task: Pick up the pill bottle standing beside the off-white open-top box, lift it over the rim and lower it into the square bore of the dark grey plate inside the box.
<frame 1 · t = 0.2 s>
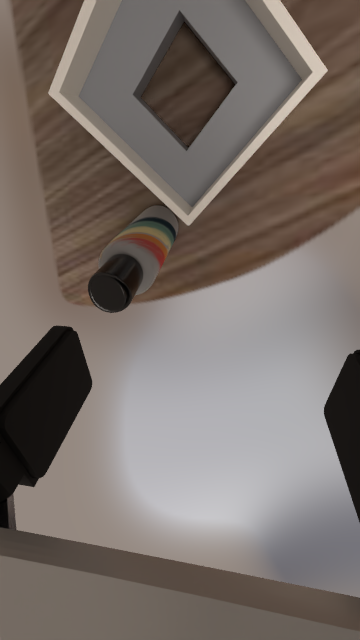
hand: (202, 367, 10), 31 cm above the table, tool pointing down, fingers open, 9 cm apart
box: (187, 92, 29), on the table
lotion bottle: (159, 225, 38), on the table
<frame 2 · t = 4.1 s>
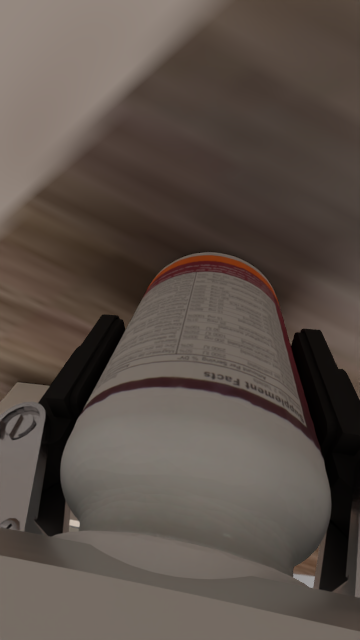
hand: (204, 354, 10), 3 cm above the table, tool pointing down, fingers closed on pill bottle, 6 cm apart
box: (148, 465, 23), on the table
pill bottle: (209, 307, 13), on the table, touching gripper
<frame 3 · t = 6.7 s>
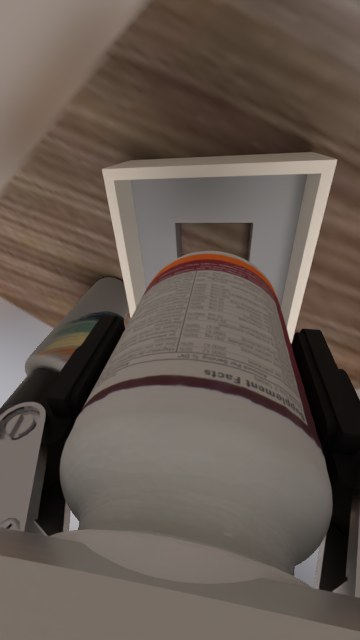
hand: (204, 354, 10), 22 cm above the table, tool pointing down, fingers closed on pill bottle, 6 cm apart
box: (214, 249, 30), on the table
lotion bottle: (114, 294, 36), on the table
pill bottle: (209, 306, 13), point 19 cm above the table, touching gripper
when the fingers open (5 cm above the table, at t = 9.8 s): pill bottle drops 2 cm, resting in box.
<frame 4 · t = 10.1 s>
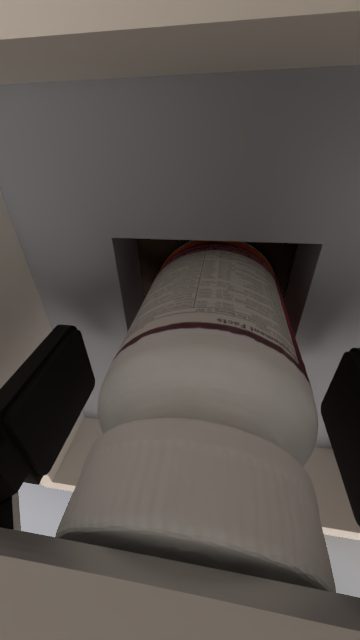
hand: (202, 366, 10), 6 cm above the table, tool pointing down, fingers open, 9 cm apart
box: (211, 291, 14), on the table
pill bottle: (215, 287, 14), resting in box
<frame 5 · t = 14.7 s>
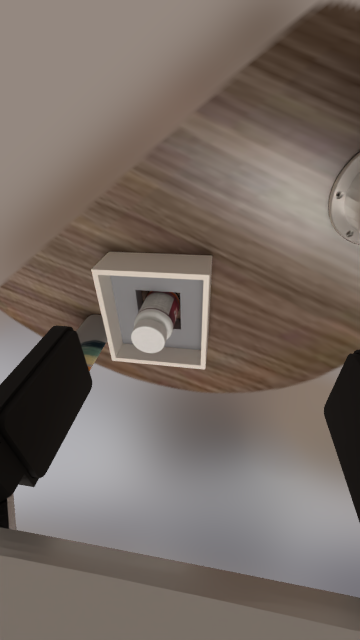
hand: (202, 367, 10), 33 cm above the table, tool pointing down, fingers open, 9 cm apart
box: (162, 301, 48), on the table
lotion bottle: (99, 324, 54), on the table
pill bottle: (163, 300, 48), resting in box
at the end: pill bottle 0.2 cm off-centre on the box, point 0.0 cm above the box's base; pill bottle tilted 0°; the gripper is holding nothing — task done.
